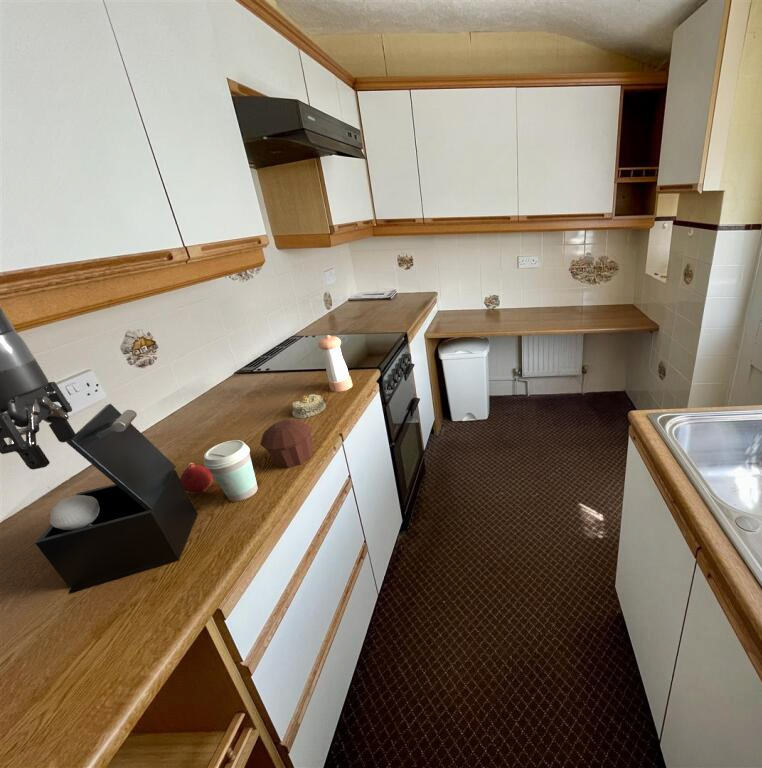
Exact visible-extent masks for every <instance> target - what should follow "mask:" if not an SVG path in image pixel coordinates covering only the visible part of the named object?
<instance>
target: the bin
mask: <svg viewBox="0 0 762 768" xmlns="http://www.w3.org/2000/svg"><path fill="white" fill-rule="evenodd" d="M180 479H181V477H179V474H178V472H177V471H176V469H174V471H173V473H172V475H171V476H170V478H169V480H168V482H167V484H166V485H165V487H164V489H163V491H162V492H161V494H160V496H159V498H158V500H157V501H156V503H155V505H154V507H153V508H152V509H151V510H149V511H147V510H146V509H144V508H143V507H142V506H141V505H140V504H138V503H137V502H136V501H135V500H134V499H133V498H131V497H130V496H129V495H128V494H127V493H125V492H124V491H123V490H122V489H121V488H120V487H118V486H117V485H116V484H115V483H113V484H110V485H105V486H101V487H97V488H93V489H89V490H84V491H80V492H77V493H76V494H75V495H85V496H91V497H94V498H95V499H97V501H98V504H99V507H100V511H99V514H98V516H97V518H96V519H95V520H94V521H93V522H92V523H91V524H92V526H86V527H84V528H81V529H77V530H62V529H59V528H55V527H53V526H52V524H51V523H50V525H49V526H48V527H47V528H46V530H45V531H44V532H43V533H42V534H41V536H40V537H39V538H38V539H37V540H36V541H35V543H34V544H35V546H36V547H37V548H38V549H39V551H40V552H41V553H42V555H43V557H45V559H46V560H47V561H48V562H49V564H50V565H51V566H52V567H53V569H54V570H55V572H56V573H57V574H58V575H59V577H60V578H61V579H62V581H63V582H64V583H65V584H66V585H67V587H68V588H69V589H70V591H71V592H72V593H76V592H81V591H83V590H87V589H90V588H93V587H96V586H99V585H102V584H106V583H109V582H112V581H115V580H119V579H123V578H125V577H130V576H132V575H136V574H139V573H142V572H145V571H146V572H147V571H148V570H152V569H156V568H158V567H162V566H165V565H169V564H172V563H175V562H178V561H180V559H181V556H182V554H183V551H184V549H185V547H186V544H187V543H188V539H189V537H190V534H191V531H192V530H193V527H194V524H195V523H196V519H197V517H198V515H199V513H198V511H197V510H196V507H195V506H194V504H193V502H192V500H191V498H190V496H189V493H188V492H187V491H186V490H185V488H184V486H183V484H182V482H181V480H180Z"/></svg>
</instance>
